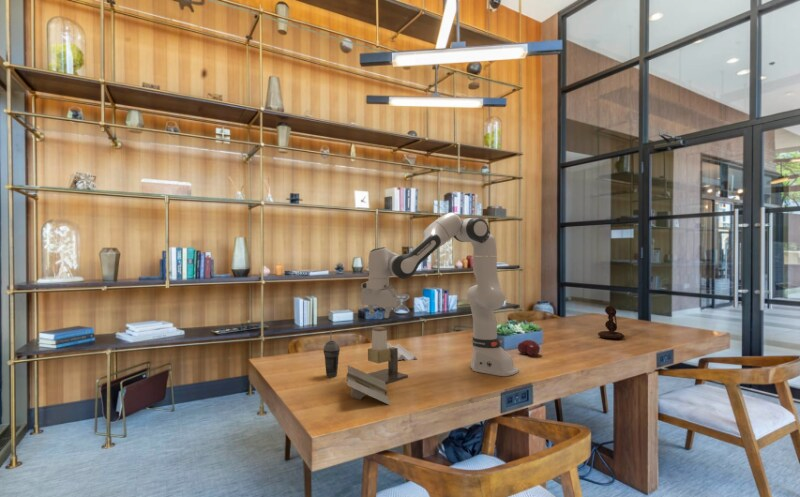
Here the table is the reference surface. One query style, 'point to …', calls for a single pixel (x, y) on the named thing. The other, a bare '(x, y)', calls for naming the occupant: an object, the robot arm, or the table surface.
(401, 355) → the crown molding
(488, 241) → the robot arm
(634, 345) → the table surface
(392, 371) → the bracket
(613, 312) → the dark figurine
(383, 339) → the rail end
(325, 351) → the dark travel mug
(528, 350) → the heart
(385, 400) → the grey grooved block
